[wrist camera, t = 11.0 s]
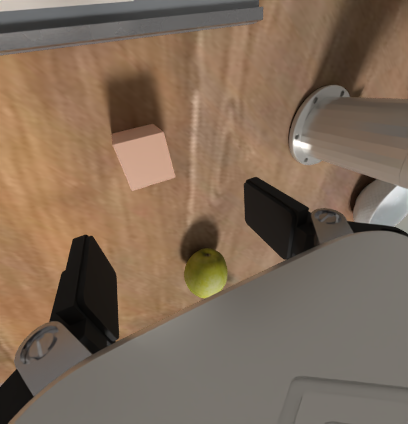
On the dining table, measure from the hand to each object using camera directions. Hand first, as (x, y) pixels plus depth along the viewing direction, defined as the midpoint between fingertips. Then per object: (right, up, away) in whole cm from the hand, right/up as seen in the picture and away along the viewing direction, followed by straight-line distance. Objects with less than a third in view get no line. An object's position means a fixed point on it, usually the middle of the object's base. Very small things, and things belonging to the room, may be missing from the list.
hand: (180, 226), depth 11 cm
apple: (0, -8, +28) cm, 30 cm away
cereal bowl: (+44, +5, +42) cm, 61 cm away
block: (-7, +9, +14) cm, 18 cm away
